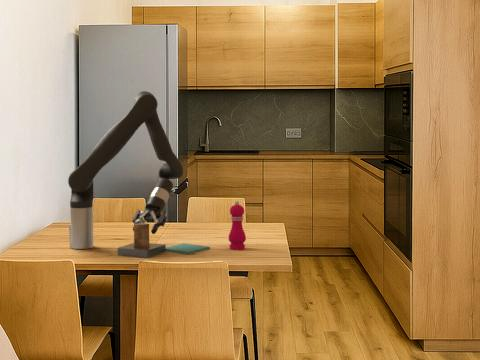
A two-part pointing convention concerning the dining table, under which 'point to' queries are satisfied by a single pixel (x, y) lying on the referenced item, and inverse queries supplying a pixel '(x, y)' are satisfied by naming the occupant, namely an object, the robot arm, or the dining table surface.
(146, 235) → the walnut peg
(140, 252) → the socket block
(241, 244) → the pepper mill
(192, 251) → the teal mat
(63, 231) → the dining table surface
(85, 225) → the robot arm
